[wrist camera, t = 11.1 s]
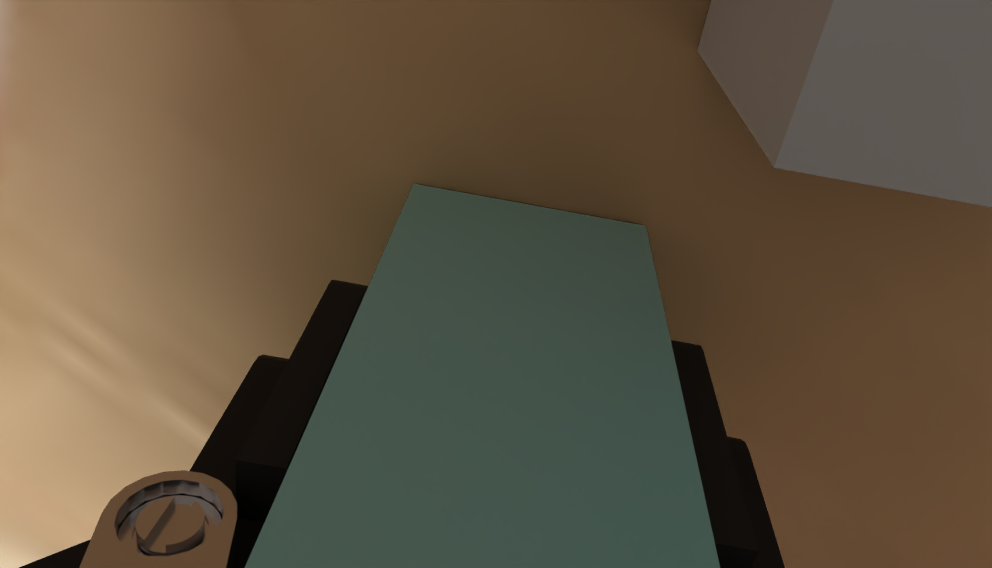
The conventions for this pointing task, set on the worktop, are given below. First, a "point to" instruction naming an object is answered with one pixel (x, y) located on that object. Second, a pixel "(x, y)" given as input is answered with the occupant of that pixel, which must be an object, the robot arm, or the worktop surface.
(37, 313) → the worktop surface
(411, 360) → the teal rectangular bottle
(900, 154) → the grey flat box
